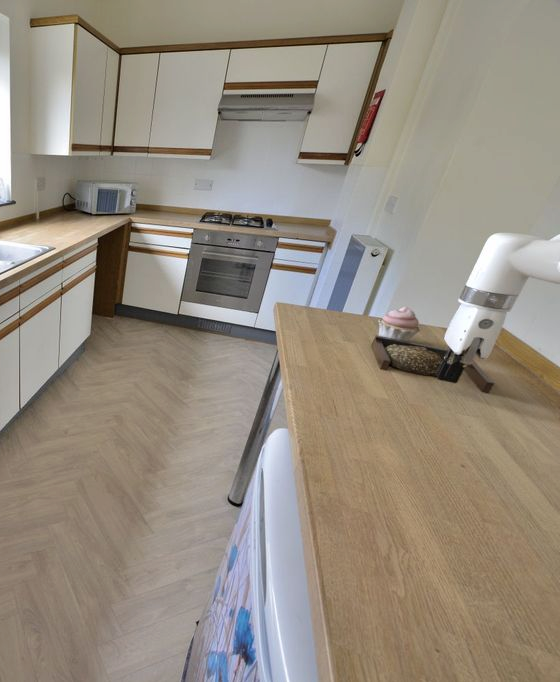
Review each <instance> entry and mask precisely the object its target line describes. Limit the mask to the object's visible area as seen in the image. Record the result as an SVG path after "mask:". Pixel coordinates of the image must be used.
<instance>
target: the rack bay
mask: <svg viewBox="0 0 560 682" xmlns="http://www.w3.org/2000/svg"><path fill="white" fill-rule="evenodd" d="M393 344H396V345H402V346H404V345H405V346H417V347H425V348H426V349H428V351H432V352H434V353H437V354H438V355H439V356H440V357H441V358H442V360H444V356H445V354H446V352H447V349H448V348H444V347H438V346H434V345H428V344H423V343H417V342H412V341H409V342H408V341H403V340H398V339H393V338H388V337H383V336H378V335H377V334H376V335H375V336H374V338H373V341H372V343H371V345H372V347H371V349H372V348H373V349H372V352H373V351H374V352H373V354H374V353H375V354H374V357H375V356H376V357H375V359H376V362H377V361H378V362H377V364H379V365H378V367H379V369H380V370H382V369H383V370H382V371H387V369H388V368H389V365H390V364H389V363H390V359H389V357H388V355H387V353H386V351H385V348H384V347H387V346H389V345H393ZM446 361H447V360H446ZM463 371H465V373H466V374H467V376H468V377H469V378H470V380H471V381H473V383H474V384H475V385H476V387H477V388H478V389H479V390H480V392H482V393H485V394H489V393H490V392H491V390H492V388H493V387H494V385H495V382H494V381H493V380H492V379H491V378H490V376H488V375H487V373H486V372H485V371H484V370H483V369H482V368H481V366H480V365H478V363H477V362H476V361H475V360H474V359H473V362H472V364H471V365H469V364H467V366H466V367H465V368H464V370H463Z"/></svg>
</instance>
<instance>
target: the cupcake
mask: <svg viewBox="0 0 560 682" xmlns="http://www.w3.org/2000/svg"><path fill="white" fill-rule="evenodd" d="M377 320H378V326H379V328H378V335H377V336H383V337H388V338H393V339H398V340H403V341H408V342H410V341H411V340H412V338H413V337H415V335H417V334H418V333H420V332H421V329H420V327H419V319H418V318H417V317H416V313H415V312H414V311H413V310H412V309H411V308H409V307H407V306H404V307H401V308H399V309H393V310H390V311H388V312H387V313H386V314H385V315H384V316H382V318H381V319H379V318H378V319H377Z"/></svg>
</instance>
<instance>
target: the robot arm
mask: <svg viewBox="0 0 560 682" xmlns="http://www.w3.org/2000/svg"><path fill="white" fill-rule="evenodd" d="M485 241H486V242H485V244H484V245H483V248H482V250H481V252H480V254H479V256H478V258H477V260H476V262H475V264H474V266H473V269H472V270H471V273H470V274H469V277H468V279H467V281H466V283H465V285H464V287H463V290H462V291H461V294H460V296H459V298H458V300H457V301H458V303H461V304H460V305H459V306H458V308H457V310H456V312H455V314H454V315H453V316H452V319H451V321H450V323H449V325H448V326H447V329H446V331H445V334H444V342H445V343H446V344H447V348H446V349H447V352H446V354H445V356H444V360H443V362H442V364H441V366H440V368H439V370H438V372H437V374H436V376H435V377H436V379H437V380H438V381H442V382H447V383H452V384H457V383H458V382H459V380H460V378H461V376H462V375H463V372H464V371H465V370H464V368H465V367H466V366H467V364H469V365H471V364H472V362H473V360H474V359H475V357H476V356H477V357H478V359H481V360H483V361H484V360H487V359H488V358H489V357H490V355H491V353H492V351H493V349H494V347H495V344H496V343H497V340H498V338H499V336H500V334H501V331H502V330H503V326H504V323H505V322H506V318H507V313H509V312H511V311H512V309H513V308H514V305H515V304H516V302H517V300H518V298H519V296H520V294H521V292H522V291H523V289H524V287H525V285H526V283H527V281H528V280H529V278H532V279H536V280H540V281H543V282H547V283H551V284H555V285H560V233H559V234H558V235H555V236H554V237H552V238H550V239H548V240H546V239H544V238H543V237H540V236H537V235H532V234H526V233H516V232H496V233H494V234H491V235H490V236H489V237H488V238H487V240H485ZM446 360H447V361H446Z"/></svg>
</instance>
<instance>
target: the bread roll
mask: <svg viewBox="0 0 560 682" xmlns="http://www.w3.org/2000/svg"><path fill="white" fill-rule="evenodd" d="M384 348H385V351H386V353H387V355H388V357H389V359H390V363H389V365H390V366H391V367H393V368H395V369H398V370H401V371H404V372H408V373H413V374H417V375H419V376H433V377H436V374H437V372H438V370H439V368H440V366H441V364H442V362H443V360H442V358H441V357H440V356H439V355H438V354H437V353H434V352H432V351H428V349H426V348H425V347H417V346H405V345H404V346H402V345H396V344H393V345H389V346H387V347H384Z"/></svg>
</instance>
